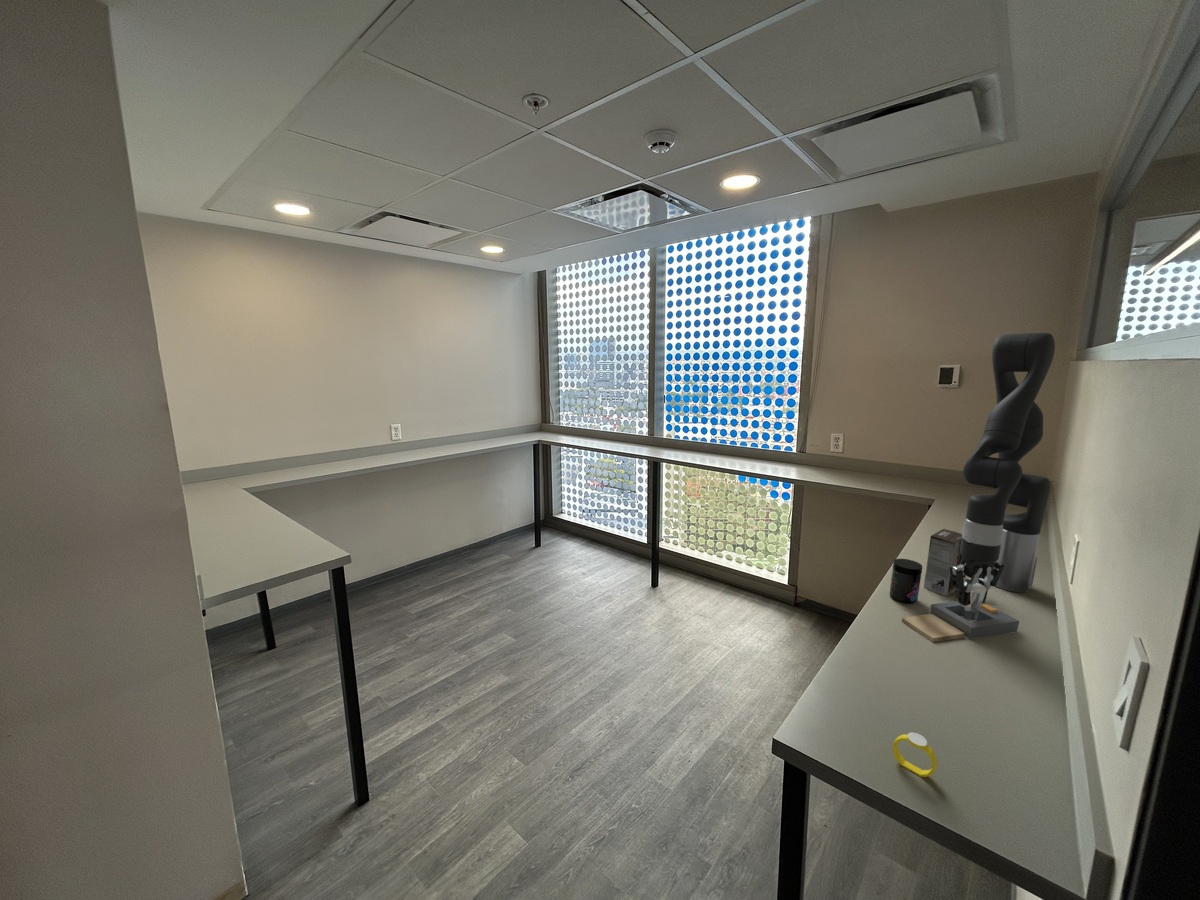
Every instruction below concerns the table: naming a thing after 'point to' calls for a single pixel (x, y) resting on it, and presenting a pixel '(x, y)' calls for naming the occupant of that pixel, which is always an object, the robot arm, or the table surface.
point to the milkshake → (974, 602)
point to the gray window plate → (985, 624)
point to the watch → (919, 743)
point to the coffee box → (942, 561)
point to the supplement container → (905, 581)
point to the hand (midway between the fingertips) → (971, 602)
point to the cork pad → (933, 627)
